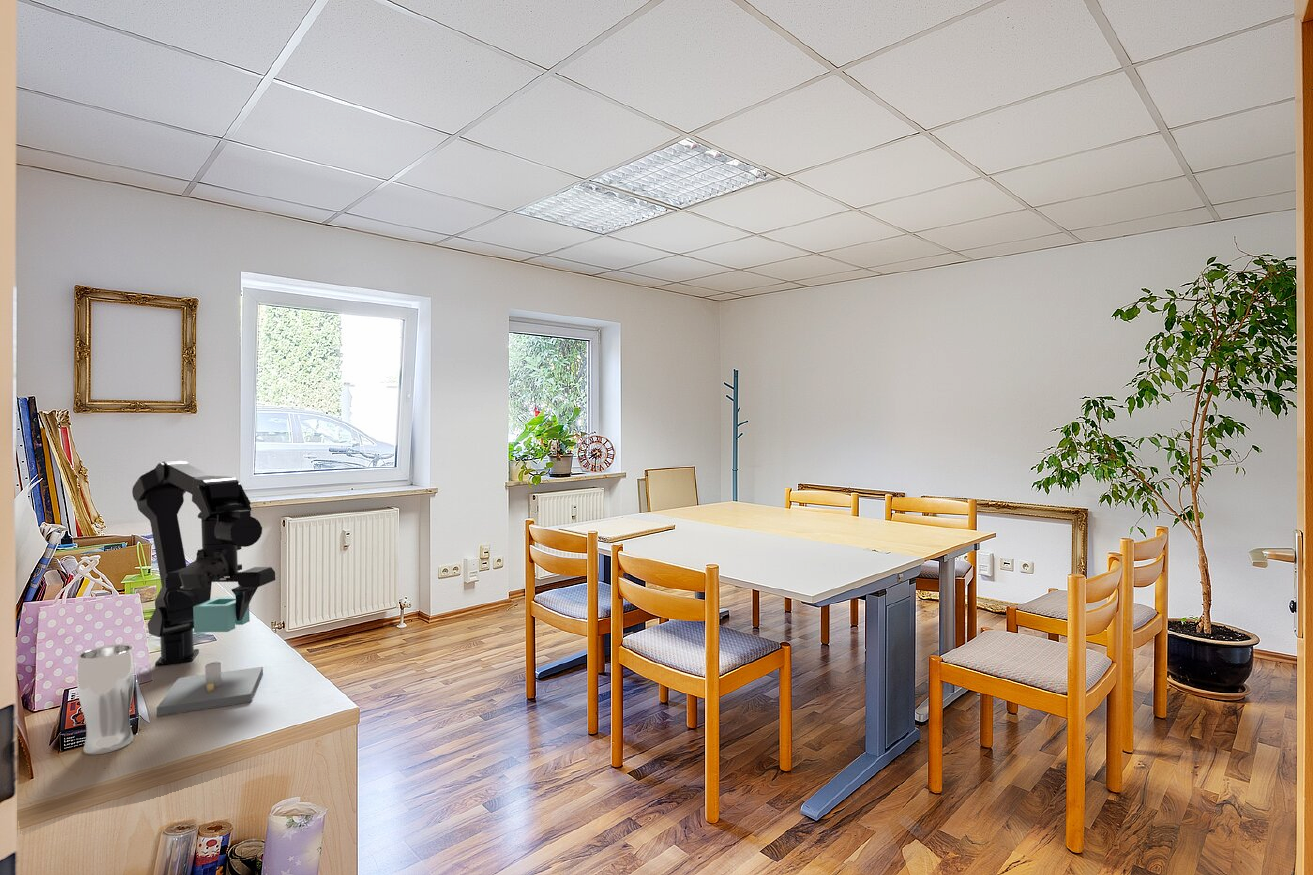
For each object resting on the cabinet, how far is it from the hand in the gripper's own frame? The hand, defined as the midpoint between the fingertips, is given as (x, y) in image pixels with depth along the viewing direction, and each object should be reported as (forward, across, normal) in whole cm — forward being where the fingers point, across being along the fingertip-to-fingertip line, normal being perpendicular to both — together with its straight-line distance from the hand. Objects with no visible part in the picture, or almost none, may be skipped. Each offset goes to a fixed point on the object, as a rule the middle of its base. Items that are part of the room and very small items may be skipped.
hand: (222, 620), depth 131 cm
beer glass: (+12, 0, -27) cm, 29 cm away
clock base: (+11, +3, -8) cm, 14 cm away
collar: (+1, 0, 0) cm, 1 cm away
